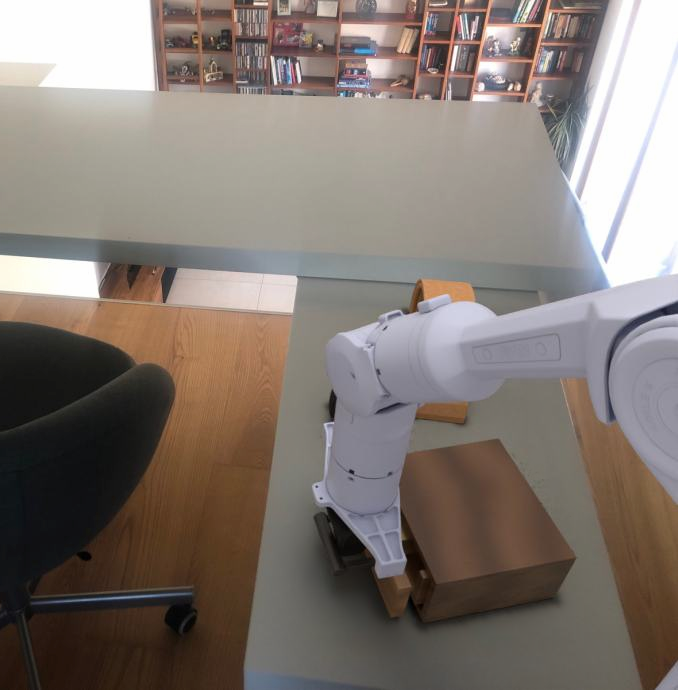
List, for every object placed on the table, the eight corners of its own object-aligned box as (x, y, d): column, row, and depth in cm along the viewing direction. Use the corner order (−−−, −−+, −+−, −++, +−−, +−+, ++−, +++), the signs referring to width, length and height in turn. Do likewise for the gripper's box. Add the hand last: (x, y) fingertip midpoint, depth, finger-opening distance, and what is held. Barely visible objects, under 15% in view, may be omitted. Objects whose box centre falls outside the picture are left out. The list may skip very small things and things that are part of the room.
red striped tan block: (437, 525, 65) (442, 508, 63) (448, 548, 63) (454, 531, 61) (386, 534, 64) (390, 517, 63) (396, 557, 63) (401, 540, 61)
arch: (410, 417, 78) (425, 350, 72) (408, 310, 93) (421, 247, 87) (463, 424, 77) (484, 357, 71) (453, 314, 92) (469, 251, 86)
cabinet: (422, 623, 60) (436, 584, 56) (369, 499, 70) (377, 457, 66) (554, 597, 61) (577, 557, 57) (483, 479, 71) (498, 437, 67)
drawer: (341, 627, 59) (346, 599, 56) (301, 510, 68) (304, 480, 65) (513, 594, 61) (528, 564, 58) (453, 484, 70) (462, 454, 67)
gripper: (293, 392, 59) (286, 492, 67) (348, 537, 48) (331, 633, 57) (372, 380, 59) (355, 480, 68) (445, 520, 49) (413, 617, 58)
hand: (349, 548), depth 63 cm, fingers closed, pressing on drawer
